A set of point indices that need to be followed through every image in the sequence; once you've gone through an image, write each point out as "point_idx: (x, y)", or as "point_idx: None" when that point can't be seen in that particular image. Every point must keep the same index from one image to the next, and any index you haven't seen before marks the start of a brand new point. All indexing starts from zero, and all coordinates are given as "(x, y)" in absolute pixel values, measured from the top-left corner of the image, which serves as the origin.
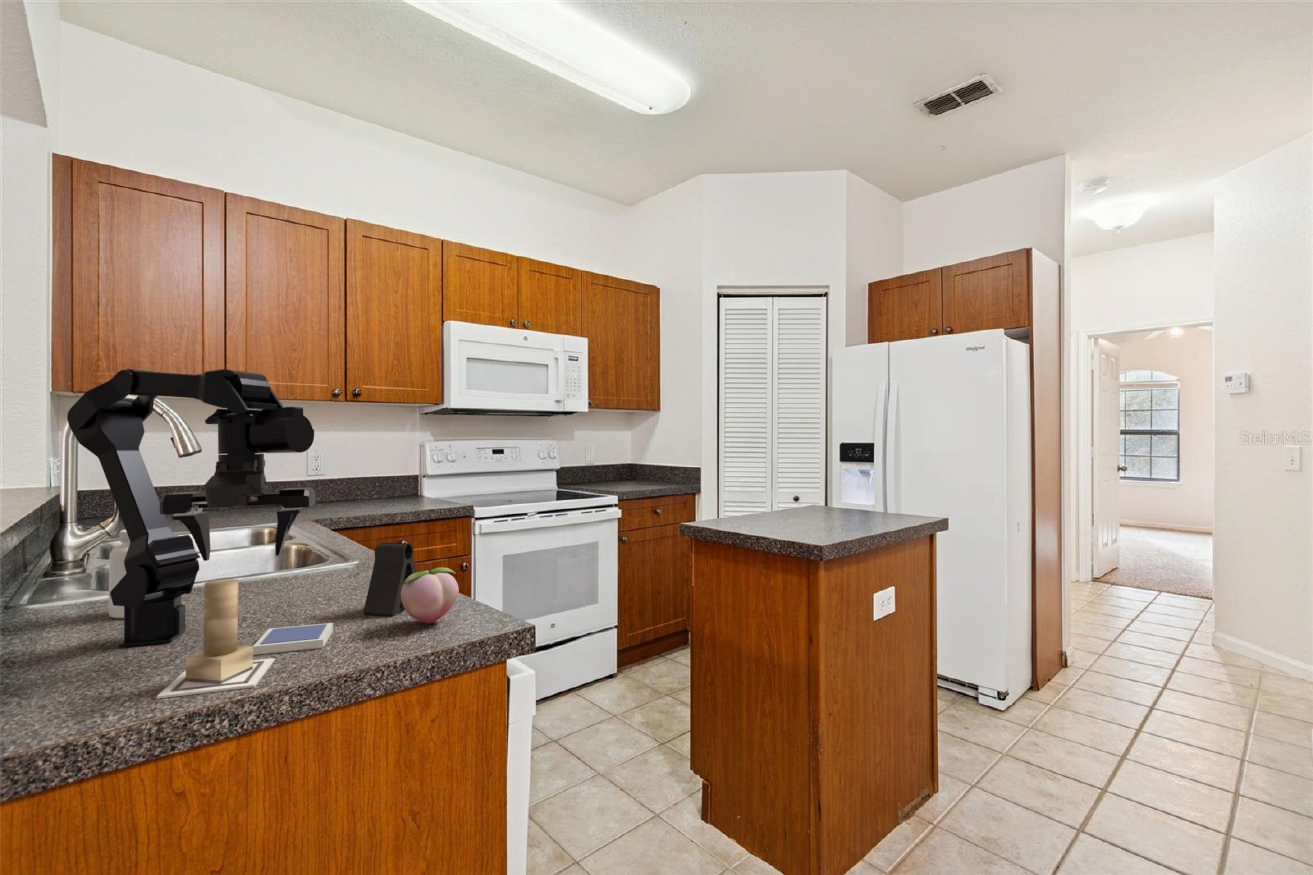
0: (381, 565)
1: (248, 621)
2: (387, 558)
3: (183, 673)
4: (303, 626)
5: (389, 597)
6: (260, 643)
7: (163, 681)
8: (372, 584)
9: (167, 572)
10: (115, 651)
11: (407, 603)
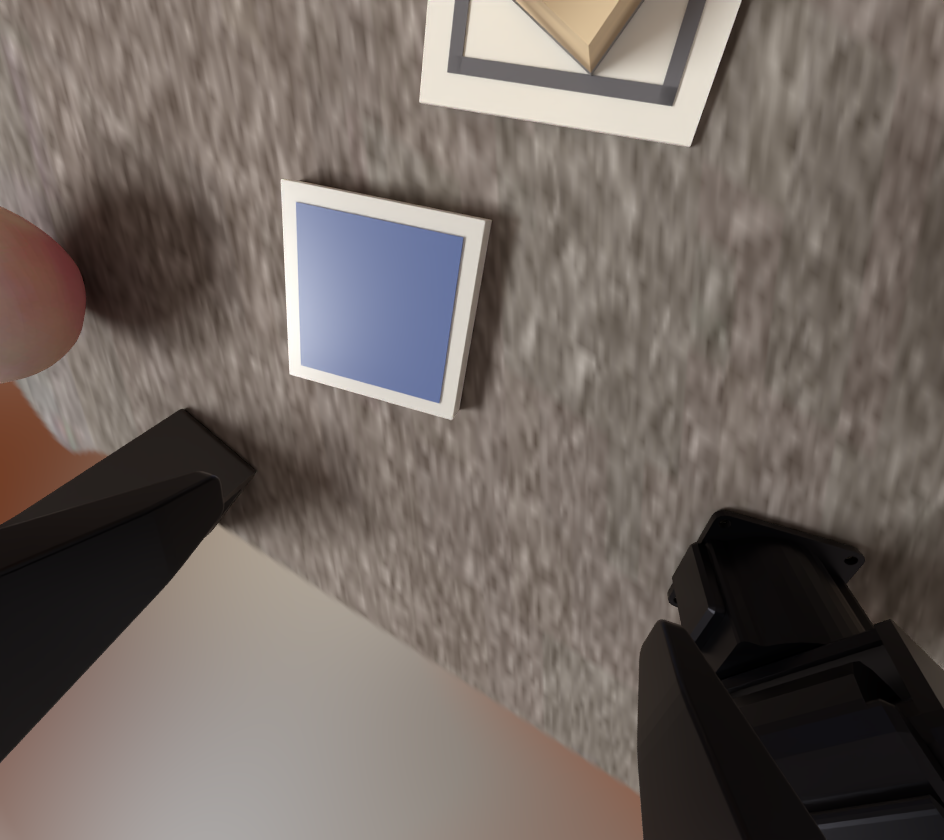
0: None
1: (516, 583)
2: None
3: (715, 56)
4: (359, 378)
5: (154, 454)
6: (462, 241)
7: (789, 13)
8: None
9: (839, 746)
10: (871, 522)
11: (9, 235)
